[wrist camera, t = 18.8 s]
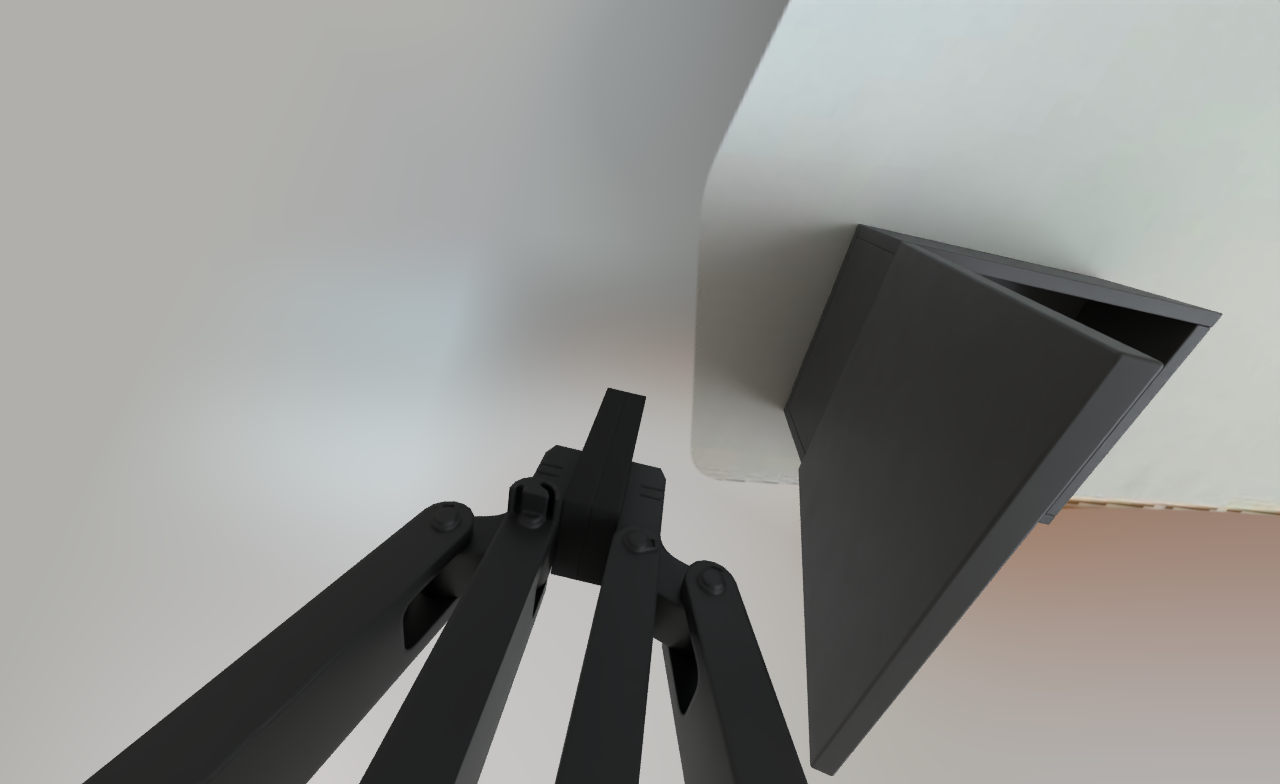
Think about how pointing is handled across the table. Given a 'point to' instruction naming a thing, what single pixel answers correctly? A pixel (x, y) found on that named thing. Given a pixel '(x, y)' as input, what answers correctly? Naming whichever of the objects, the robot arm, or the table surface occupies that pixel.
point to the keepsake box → (1085, 299)
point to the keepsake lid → (937, 473)
